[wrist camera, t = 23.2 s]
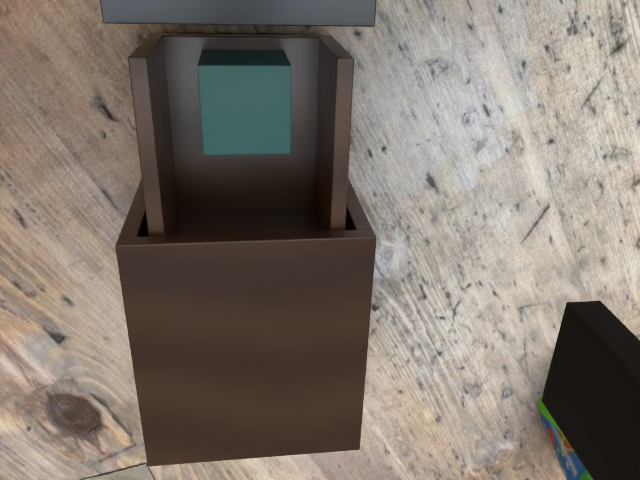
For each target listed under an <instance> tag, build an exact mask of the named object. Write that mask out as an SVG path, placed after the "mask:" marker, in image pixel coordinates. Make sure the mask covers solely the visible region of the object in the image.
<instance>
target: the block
mask: <svg viewBox="0 0 640 480" xmlns="http://www.w3.org/2000/svg"><path fill="white" fill-rule="evenodd" d="M197 70H198V85H199V100H200V115H201V131H202V146H203V155H253V154H291V64H290V62H289V60H288V58H287V55H286V53H285V51H284V50H202V52H201V56H200V59H199V62H198V66H197Z"/></svg>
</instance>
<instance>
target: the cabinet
mask: <svg viewBox="0 0 640 480" xmlns="http://www.w3.org/2000/svg"><path fill="white" fill-rule="evenodd" d="M115 247H116V253H117V260H118V267H119V274H120V281H121V287H122V294H123V301H124V308H125V315H126V322H127V328H128V335H129V342H130V349H131V356H132V362H133V369H134V376H135V383H136V390H137V397H138V403H139V410H140V417H141V424H142V431H143V438H144V444H145V451H146V458H147V465H148V466H159V465H171V464H184V463H197V462H209V461H222V460H235V459H247V458H260V457H272V456H285V455H298V454H310V453H323V452H335V451H348V450H359V449H360V438H361V425H362V412H363V400H364V387H365V374H366V362H367V349H368V337H369V324H370V311H371V299H372V286H373V273H374V261H375V248H376V235H375V233H374V231H373V229H372V227H371V225H370V223H369V221H368V218H367V216H366V214H365V212H364V210H363V208H362V206H361V204H360V202H359V199H358V197H357V195H356V193H355V191H354V189H353V187H352V185H351V182H350V180H349V178H348V186H347V206H346V225H345V230H343V231H311V232H280V233H248V234H217V235H185V236H154V237H149V234H148V225H147V217H146V208H145V199H144V191H143V182H142V179H141V182H140V184H139V187H138V189H137V192H136V194H135V197H134V200H133V202H132V205H131V207H130V210H129V212H128V215H127V218H126V220H125V223H124V225H123V228H122V230H121V233H120V235H119V238H118V241H117V243H116V246H115Z"/></svg>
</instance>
